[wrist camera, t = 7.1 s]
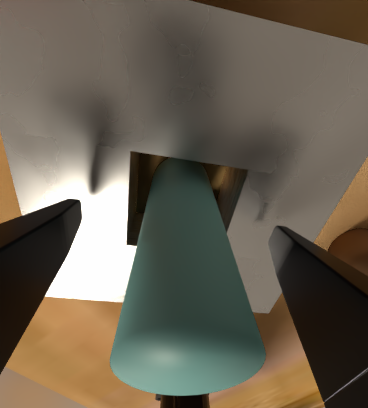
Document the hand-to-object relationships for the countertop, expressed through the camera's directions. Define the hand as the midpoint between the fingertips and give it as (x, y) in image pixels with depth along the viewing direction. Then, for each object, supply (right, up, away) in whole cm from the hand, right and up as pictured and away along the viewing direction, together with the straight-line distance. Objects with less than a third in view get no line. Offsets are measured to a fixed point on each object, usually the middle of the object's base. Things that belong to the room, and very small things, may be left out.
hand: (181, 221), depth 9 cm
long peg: (0, +2, +3) cm, 4 cm away
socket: (0, +2, +3) cm, 4 cm away
